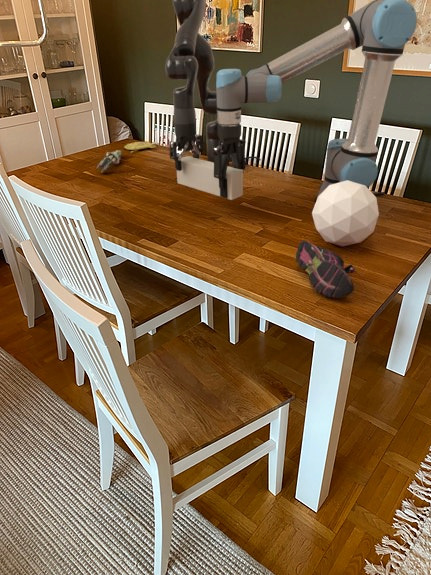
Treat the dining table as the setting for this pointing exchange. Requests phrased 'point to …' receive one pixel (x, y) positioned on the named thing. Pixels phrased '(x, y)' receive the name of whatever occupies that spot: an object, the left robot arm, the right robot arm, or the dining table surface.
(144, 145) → the decorative object
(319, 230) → the sphere
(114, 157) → the figurine
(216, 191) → the bar
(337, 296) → the athletic shoe
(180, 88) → the left robot arm
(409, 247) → the dining table surface
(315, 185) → the dining table surface
